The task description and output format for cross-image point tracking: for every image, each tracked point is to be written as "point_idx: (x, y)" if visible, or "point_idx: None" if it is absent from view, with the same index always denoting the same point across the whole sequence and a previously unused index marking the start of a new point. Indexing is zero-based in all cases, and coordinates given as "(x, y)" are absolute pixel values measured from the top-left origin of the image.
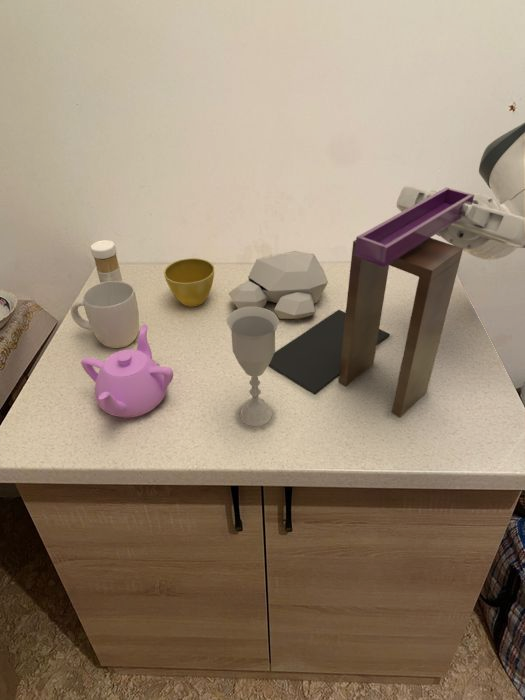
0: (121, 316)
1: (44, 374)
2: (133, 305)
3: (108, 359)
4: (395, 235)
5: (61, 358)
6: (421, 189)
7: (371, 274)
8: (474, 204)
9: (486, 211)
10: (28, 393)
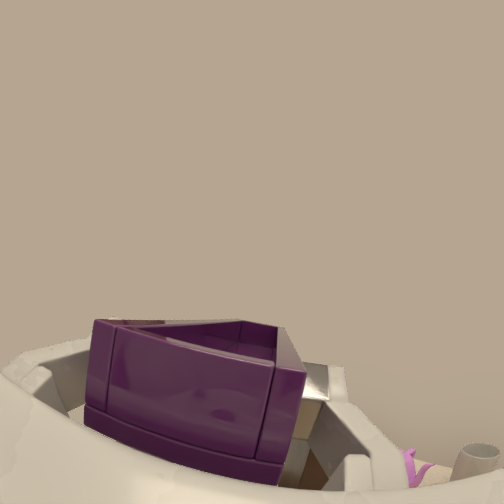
0: (458, 463)
1: (434, 466)
2: (469, 466)
3: (404, 452)
4: (262, 356)
5: (448, 472)
6: (500, 471)
7: (289, 468)
8: (56, 410)
9: (29, 352)
10: (418, 460)
